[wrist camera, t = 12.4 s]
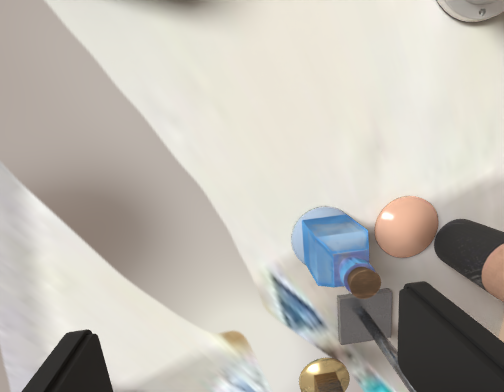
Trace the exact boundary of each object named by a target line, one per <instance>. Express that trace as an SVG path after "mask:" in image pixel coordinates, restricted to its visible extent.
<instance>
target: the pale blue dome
mask: <svg viewBox="0 0 504 392" xmlns="http://www.w3.org/2000/svg"><path fill="white" fill-rule="evenodd" d="M337 215H345V213H344V212H342V211H341V210H339V209H337V208H334V207H327V206H324V207H317V208H314V209H312V210H310V211H308V212H306V213H305V214H304V215H302V216H301V217H300V218H299V220H298V221H297V222H296V224H295V226H294V228H293V231H292V236H291V243H292V247H293V250H294V252H295V254H296V256H297V257H298V259H299V260H300V261H301V262H302V263H304V264H305V262H304V247H303V232H302V220H307V219H314V218H322V217H330V216H337ZM305 265H306V264H305Z"/></svg>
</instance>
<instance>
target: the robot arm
mask: <svg viewBox="0 0 504 392" xmlns="http://www.w3.org/2000/svg"><path fill="white" fill-rule="evenodd" d="M437 1H438V3H439V4H440V5H441V7H442V8H443V9H444V10H445V11H446V12H447V13H448V14H450V15H451V16H452V17H454V18H456V19H459V20H461V21H466V22H479V21H483V20H487V19H489V18H492V17H494V16H497V15H499V14H500V13H502V12H504V0H437ZM398 365H399V367H400V370H401V372H402V373H403V375H404V376H405V378H406V379H407V380H408V382H409V383H410V385H411V386H412V387H413V389H414V390H415V392H504V343H503V342H502V341H501V340H499V339H498V338H497V337H496V336H495V335H493V334H492V333H491V332H489V331H488V330H487V329H486V328H484V327H483V326H482V325H481V324H479V323H478V322H477V321H475V320H474V319H473V318H472V317H470V316H469V315H468V314H467V313H465V312H464V311H463V310H461V309H460V308H459V307H458V306H456V305H455V304H454V303H453V302H451V301H450V300H449V299H447V298H446V297H445V296H444V295H442V294H441V293H440V292H439V291H437V290H436V289H435V288H433V287H432V286H431V285H430V284H428V283H427V282H416V283H409V284H405V286H404V288H403V289H402V290H400V293H399V323H398ZM22 392H113V389H112V385H111V382H110V378H109V374H108V371H107V367H106V363H105V360H104V356H103V352H102V349H101V345H100V341H99V338H98V335H97V334H92V332H91V331H90V330H81V331H74V332H69V333H66V334H65V335H64V337H63V338H62V339H61V341H60V342H59V343H58V345H57V346H56V347H55V348H54V350H53V351H52V352H51V354H50V355H49V356H48V358H47V359H46V360H45V362H44V363H43V364H42V366H41V367H40V368H39V369H38V371H37V372H36V373H35V375H34V376H33V377H32V379H31V380H30V381H29V383H28V384H27V385H26V387H25V388H24V389H23V391H22Z"/></svg>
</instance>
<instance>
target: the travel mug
mask: <svg viewBox="0 0 504 392" xmlns="http://www.w3.org/2000/svg"><path fill="white" fill-rule="evenodd" d="M434 248H435V252H436V254H437V256H438V257H439V258H440V259H441V260H442V261H443V262H445V263H446V264H448V265H449V266H451V267H452V268H454V269H455V270H456V271H458V272H459V273H461V274H462V275H464V276H465V277H467V278H468V279H470V280H471V281H473V282H474V283H476V284H477V285H478V286H480V287H481V288H483V289H484V290H486V291H487V292H489V293H490V294H492V295H493V296H495V297H497V298H498V299H500V300H501V301H503V302H504V232H502V231H499V230H496V229H493V228H490V227H487V226H485V225H482V224H479V223H476V222H473V221H470V220H466V219H457V220H453V221H451V222H449V223H447V224H446V225H444V226H443V227H442V228H441V229H440V231H439V232H438V234H437V236H436V239H435V243H434Z"/></svg>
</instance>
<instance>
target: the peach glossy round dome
mask: <svg viewBox="0 0 504 392" xmlns="http://www.w3.org/2000/svg"><path fill="white" fill-rule="evenodd" d="M437 229H438V216H437V213H436V211H435V209H434V207H433V206H432V205H431V204H430V203H429V202H428V201H426V200H424V199H422V198H419V197H415V196H404V197H400V198H397V199H395V200H393V201H392V202H390V203H389V204H388V205H386V206H385V207H384V208H383V210H382V211H381V212H380V214H379V216H378V218H377V220H376V224H375V237H376V240H377V243H378V244H379V246H380V247H381V248H382V249H383V250H384V251H385V252H387V253H388V254H390V255H392V256H395V257H402V258H404V257H411V256H414V255H416V254H418V253H420V252H422V251H423V250H424V249H426V248H427V247H428V246H429V244H430V243H431V242H432V240H433V239H434V237H435V235H436V232H437Z"/></svg>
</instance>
